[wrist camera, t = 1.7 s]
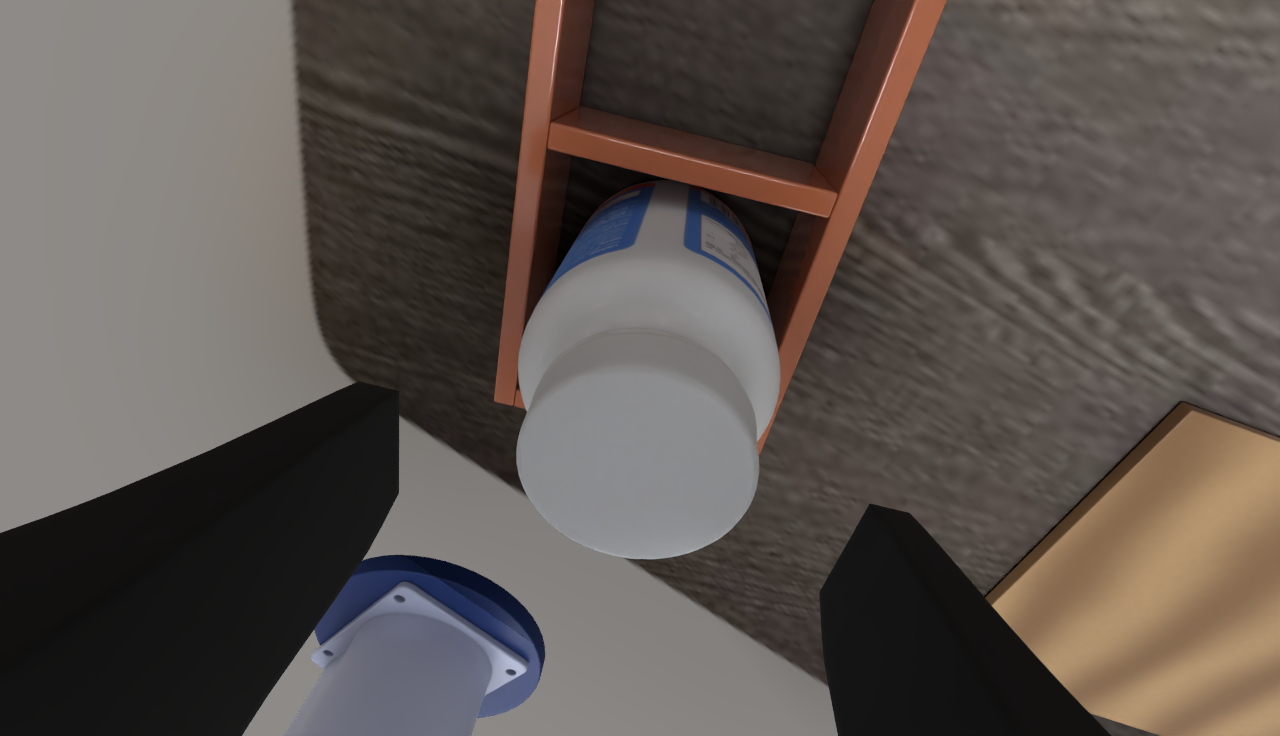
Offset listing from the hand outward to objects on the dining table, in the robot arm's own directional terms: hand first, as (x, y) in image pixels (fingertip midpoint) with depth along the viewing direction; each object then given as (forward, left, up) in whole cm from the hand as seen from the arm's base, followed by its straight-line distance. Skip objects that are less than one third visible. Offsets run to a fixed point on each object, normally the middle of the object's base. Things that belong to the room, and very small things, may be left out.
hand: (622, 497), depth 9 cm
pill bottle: (0, 0, -10) cm, 10 cm away
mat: (+8, -28, -10) cm, 31 cm away
